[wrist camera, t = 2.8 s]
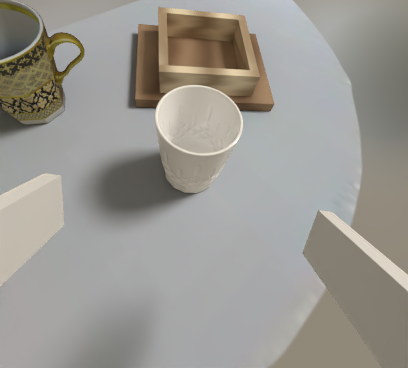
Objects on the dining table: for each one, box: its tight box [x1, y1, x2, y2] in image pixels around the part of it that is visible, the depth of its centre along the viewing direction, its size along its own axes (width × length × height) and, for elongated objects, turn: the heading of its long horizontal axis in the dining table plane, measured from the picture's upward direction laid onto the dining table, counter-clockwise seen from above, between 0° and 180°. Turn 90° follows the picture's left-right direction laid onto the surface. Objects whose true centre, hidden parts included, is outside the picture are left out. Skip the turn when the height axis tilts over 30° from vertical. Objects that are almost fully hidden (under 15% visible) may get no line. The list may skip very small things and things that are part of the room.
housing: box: [135, 7, 274, 111], centre depth 35 cm, size 20×16×5 cm
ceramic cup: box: [0, 0, 84, 124], centre depth 26 cm, size 13×10×10 cm
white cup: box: [155, 85, 243, 193], centre depth 25 cm, size 8×8×10 cm
